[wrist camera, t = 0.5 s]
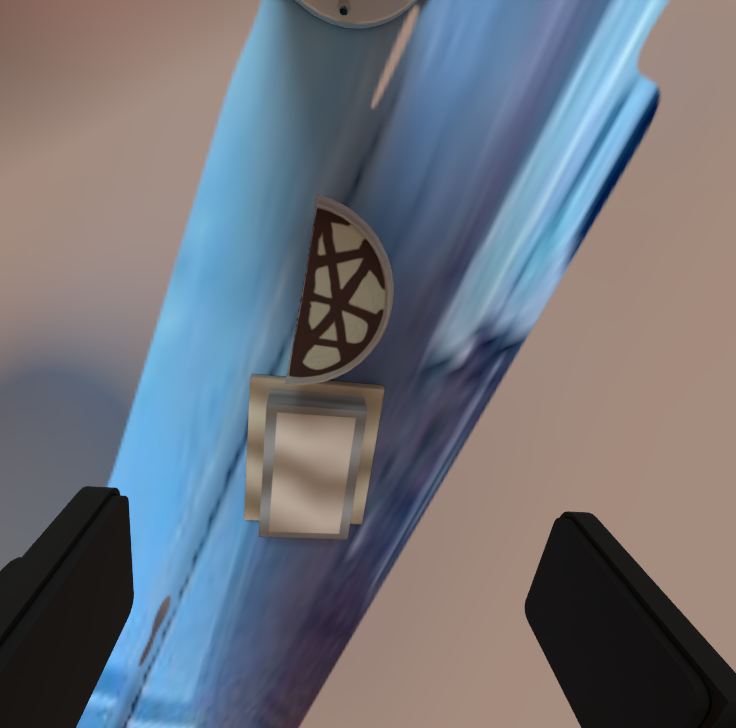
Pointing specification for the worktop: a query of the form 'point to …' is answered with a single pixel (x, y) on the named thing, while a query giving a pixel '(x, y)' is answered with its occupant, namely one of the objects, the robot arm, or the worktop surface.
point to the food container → (340, 296)
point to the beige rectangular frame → (309, 455)
